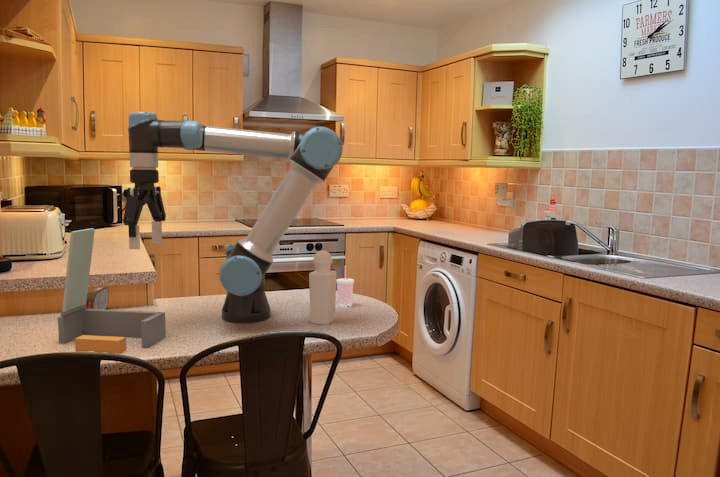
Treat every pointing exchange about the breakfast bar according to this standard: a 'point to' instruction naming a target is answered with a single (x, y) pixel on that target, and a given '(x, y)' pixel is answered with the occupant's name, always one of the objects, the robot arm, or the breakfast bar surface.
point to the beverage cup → (345, 291)
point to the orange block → (100, 344)
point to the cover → (78, 271)
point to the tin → (98, 298)
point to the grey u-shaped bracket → (113, 325)
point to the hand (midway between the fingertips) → (146, 246)
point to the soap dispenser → (322, 289)
